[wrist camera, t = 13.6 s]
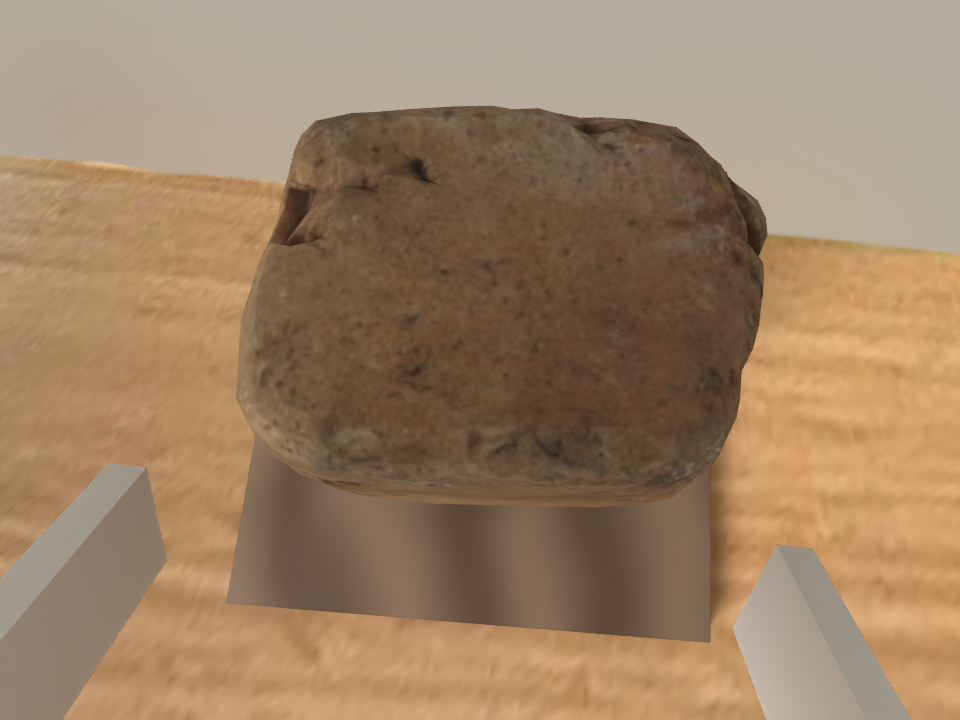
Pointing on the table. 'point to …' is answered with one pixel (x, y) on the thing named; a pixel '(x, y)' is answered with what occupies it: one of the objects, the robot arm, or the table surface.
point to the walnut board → (475, 558)
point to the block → (502, 308)
